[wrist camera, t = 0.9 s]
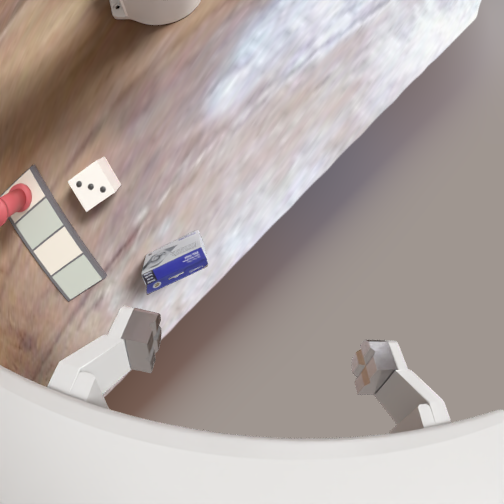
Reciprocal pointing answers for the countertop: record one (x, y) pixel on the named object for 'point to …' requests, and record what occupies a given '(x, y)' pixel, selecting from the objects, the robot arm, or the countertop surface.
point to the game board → (54, 240)
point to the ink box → (174, 261)
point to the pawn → (14, 201)
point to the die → (94, 183)
